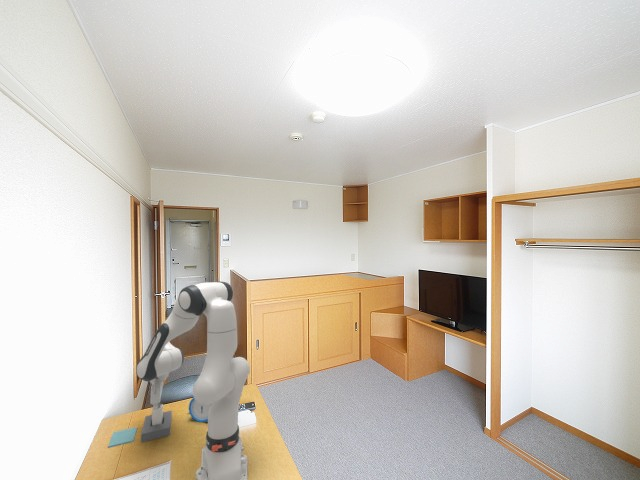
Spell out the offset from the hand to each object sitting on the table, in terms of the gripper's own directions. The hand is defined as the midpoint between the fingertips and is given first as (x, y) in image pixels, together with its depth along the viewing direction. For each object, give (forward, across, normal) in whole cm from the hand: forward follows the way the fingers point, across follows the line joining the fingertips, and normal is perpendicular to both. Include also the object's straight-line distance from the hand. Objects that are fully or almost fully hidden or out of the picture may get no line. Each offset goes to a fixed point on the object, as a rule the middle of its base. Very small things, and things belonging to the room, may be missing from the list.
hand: (157, 403), depth 129 cm
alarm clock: (+12, 0, -20) cm, 24 cm away
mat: (+12, 0, +12) cm, 18 cm away
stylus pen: (+12, +13, -17) cm, 25 cm away
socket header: (+12, 0, 0) cm, 12 cm away
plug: (+12, 0, 0) cm, 12 cm away
